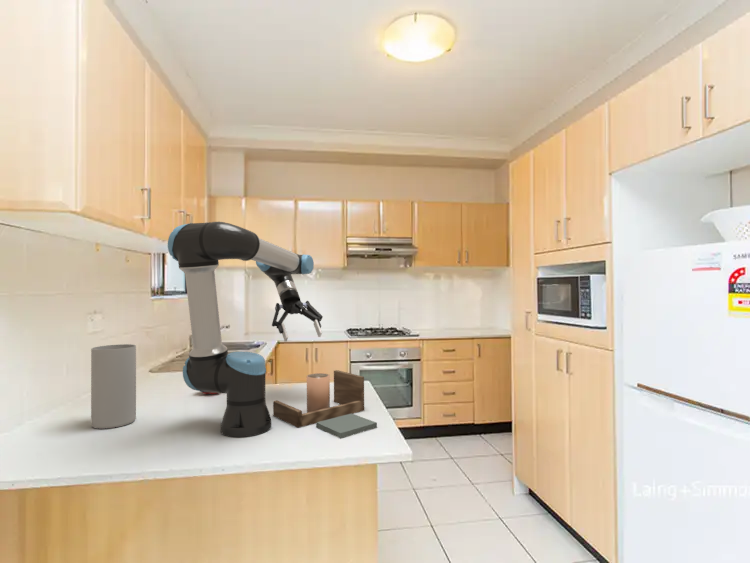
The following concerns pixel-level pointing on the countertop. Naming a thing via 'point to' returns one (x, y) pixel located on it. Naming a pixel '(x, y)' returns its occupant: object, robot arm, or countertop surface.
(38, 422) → the countertop surface
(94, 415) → the cylinder vase
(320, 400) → the tan upright cylinder
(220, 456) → the countertop surface
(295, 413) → the brown wooden bracket
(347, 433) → the rubber mat
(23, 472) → the countertop surface
